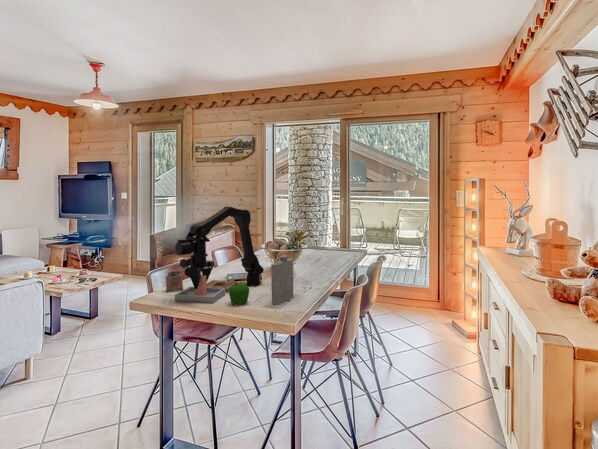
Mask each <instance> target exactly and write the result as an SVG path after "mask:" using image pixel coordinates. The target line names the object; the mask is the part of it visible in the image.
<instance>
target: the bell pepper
mask: <svg viewBox="0 0 598 449" xmlns="http://www.w3.org/2000/svg"><path fill="white" fill-rule="evenodd" d="M245 283H246V282H245V281H242V280H241V281H238V285H236V284H234V285H232V287H230V288H229V292H228V294H229V295H228V296H229V299H230V302H231V303H232V305H234V306H235V305H236V306H239V305H246V304H247V302H248V299H249V295H250V287H249V285H247V284H245Z"/></svg>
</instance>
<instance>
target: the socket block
mask: <svg viewBox="0 0 598 449" xmlns="http://www.w3.org/2000/svg"><path fill="white" fill-rule="evenodd" d="M238 283H239V281H238V280H237V281H236V280H218V279H217V280H216V279H212V280H210V281H209V282H208V281H207V287H209V288H225V294H226V293H228V294H229V288H230V287H232V285H234V284H236V285H238Z"/></svg>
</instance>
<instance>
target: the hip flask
mask: <svg viewBox="0 0 598 449" xmlns="http://www.w3.org/2000/svg"><path fill="white" fill-rule="evenodd" d="M270 267H271V268H270V271H271V272H270V273H271V305H272V306H278V305H281V304H284V303H286V302H288V301H290V300H291V299H292V298H294V258H292V257H289V256H288V255H285V254H284V255H279V260H278V261H276V262H273V263H271V266H270Z"/></svg>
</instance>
